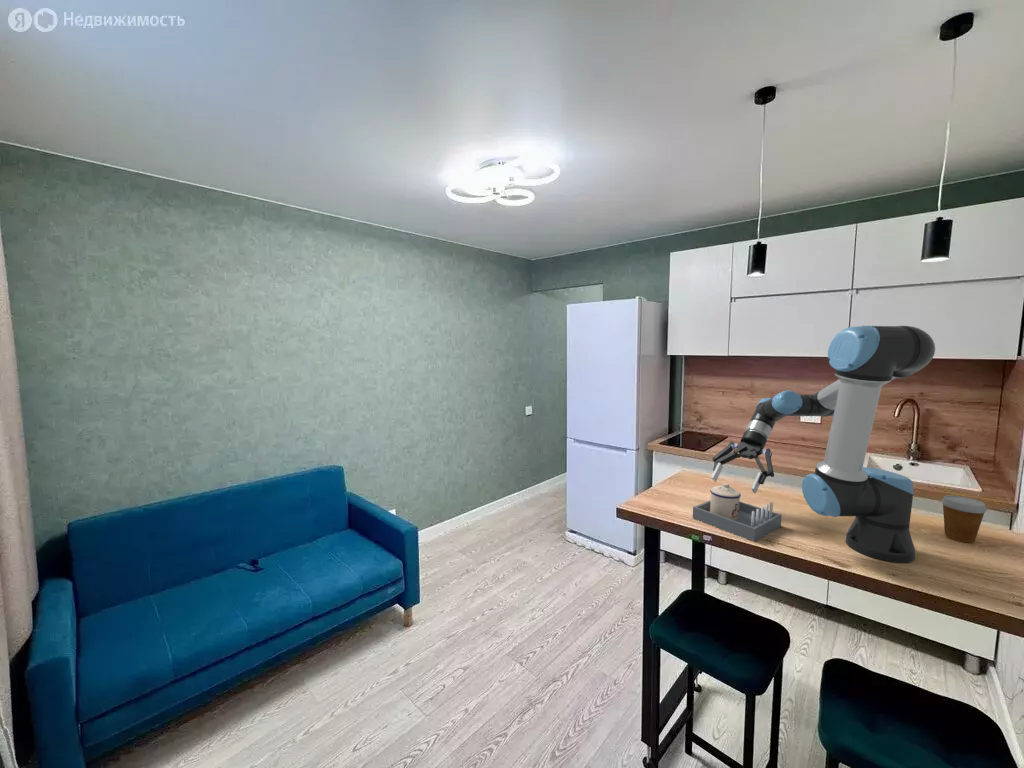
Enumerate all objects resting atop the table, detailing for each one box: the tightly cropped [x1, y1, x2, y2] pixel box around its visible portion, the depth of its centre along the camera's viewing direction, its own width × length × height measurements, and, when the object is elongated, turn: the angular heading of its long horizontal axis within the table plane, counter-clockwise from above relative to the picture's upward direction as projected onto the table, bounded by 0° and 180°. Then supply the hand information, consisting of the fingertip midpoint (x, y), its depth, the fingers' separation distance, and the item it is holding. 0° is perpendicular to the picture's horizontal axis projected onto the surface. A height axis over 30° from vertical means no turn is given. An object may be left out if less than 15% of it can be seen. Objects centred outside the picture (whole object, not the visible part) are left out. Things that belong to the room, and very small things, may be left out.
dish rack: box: [692, 499, 783, 543], centre depth 138 cm, size 20×18×8 cm
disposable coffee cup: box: [940, 494, 988, 544], centre depth 127 cm, size 10×10×12 cm
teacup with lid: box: [709, 482, 741, 521], centre depth 141 cm, size 12×9×12 cm
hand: (732, 485), depth 142 cm, fingers open, 13 cm apart
